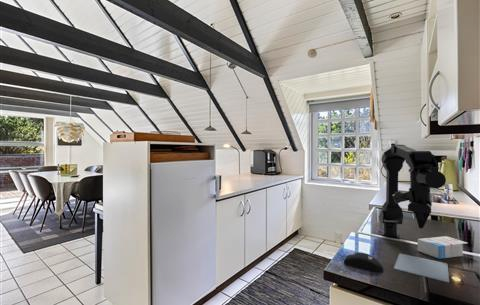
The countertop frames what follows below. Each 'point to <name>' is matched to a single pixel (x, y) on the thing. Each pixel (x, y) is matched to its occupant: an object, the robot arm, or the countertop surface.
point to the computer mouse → (363, 262)
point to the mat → (422, 267)
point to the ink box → (441, 247)
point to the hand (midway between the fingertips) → (421, 228)
